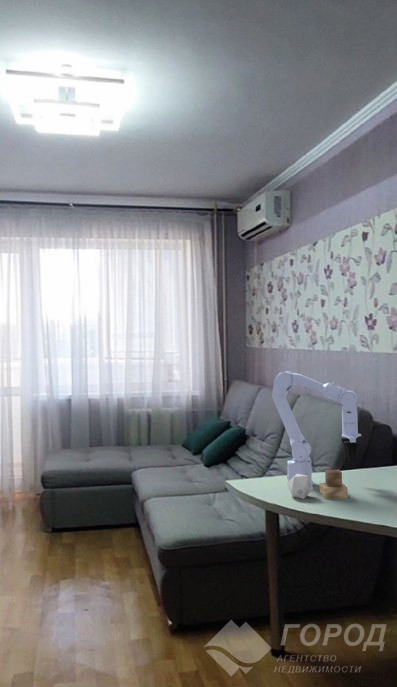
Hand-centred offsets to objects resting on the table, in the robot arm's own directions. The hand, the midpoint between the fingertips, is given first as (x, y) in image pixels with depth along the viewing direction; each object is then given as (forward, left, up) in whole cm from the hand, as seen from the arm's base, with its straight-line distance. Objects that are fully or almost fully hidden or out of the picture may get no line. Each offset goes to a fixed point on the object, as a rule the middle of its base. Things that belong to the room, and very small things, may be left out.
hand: (350, 458), depth 215 cm
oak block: (-8, -14, -11) cm, 20 cm away
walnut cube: (-8, -14, -7) cm, 17 cm away
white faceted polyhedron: (-20, -17, -11) cm, 28 cm away
